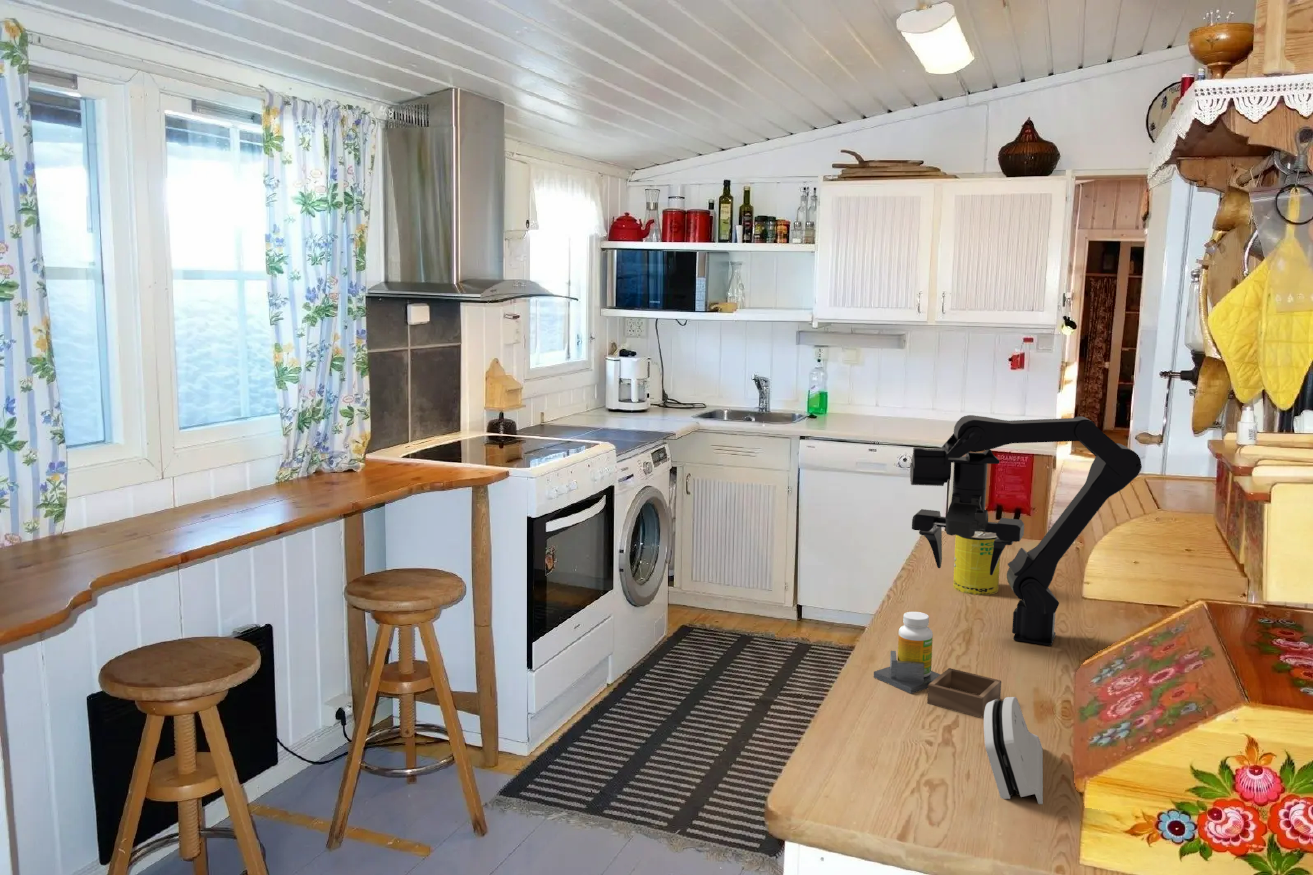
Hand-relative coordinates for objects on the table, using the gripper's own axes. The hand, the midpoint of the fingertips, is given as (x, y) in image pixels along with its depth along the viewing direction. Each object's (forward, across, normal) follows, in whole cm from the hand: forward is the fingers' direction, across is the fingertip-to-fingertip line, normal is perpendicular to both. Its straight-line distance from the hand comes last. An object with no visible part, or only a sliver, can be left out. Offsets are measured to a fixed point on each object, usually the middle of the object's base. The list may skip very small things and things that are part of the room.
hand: (965, 571), depth 185 cm
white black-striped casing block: (+12, +16, -49) cm, 53 cm away
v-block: (+12, -4, -25) cm, 28 cm away
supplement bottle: (+11, -3, -24) cm, 27 cm away
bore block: (+12, +6, -29) cm, 32 cm away
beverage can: (+12, -3, +29) cm, 32 cm away
